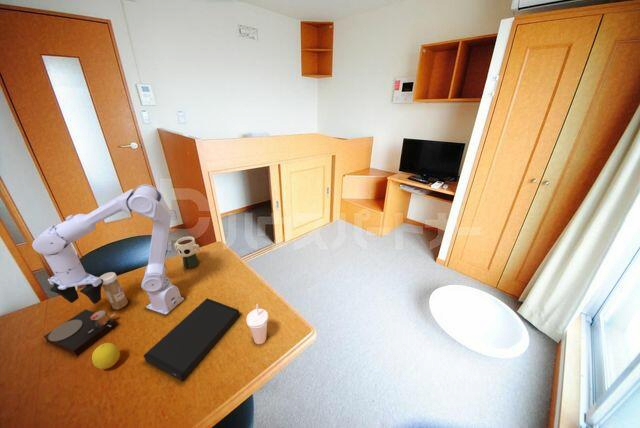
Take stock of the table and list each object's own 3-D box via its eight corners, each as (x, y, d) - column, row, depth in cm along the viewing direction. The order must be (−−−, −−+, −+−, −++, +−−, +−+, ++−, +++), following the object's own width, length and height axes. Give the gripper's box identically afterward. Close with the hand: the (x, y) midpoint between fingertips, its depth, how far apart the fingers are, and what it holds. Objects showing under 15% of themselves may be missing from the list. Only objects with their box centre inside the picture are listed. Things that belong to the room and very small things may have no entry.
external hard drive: (239, 316, 83) (238, 309, 81) (183, 382, 63) (180, 375, 62) (208, 304, 87) (206, 298, 86) (146, 362, 68) (142, 355, 66)
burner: (88, 324, 76) (88, 323, 76) (58, 344, 69) (58, 344, 69) (73, 317, 78) (72, 316, 78) (42, 337, 71) (42, 336, 71)
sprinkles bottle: (127, 306, 86) (114, 277, 80) (111, 312, 83) (96, 282, 78) (128, 298, 89) (115, 269, 83) (113, 303, 87) (98, 274, 81)
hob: (126, 322, 80) (123, 316, 78) (80, 357, 69) (76, 351, 67) (94, 310, 84) (91, 304, 83) (47, 341, 73) (43, 335, 72)
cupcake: (106, 316, 78) (101, 308, 77) (111, 321, 77) (107, 312, 75) (92, 324, 76) (87, 316, 74) (98, 329, 74) (93, 320, 72)
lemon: (103, 379, 63) (91, 360, 60) (95, 368, 66) (83, 349, 63) (127, 362, 68) (117, 343, 64) (118, 352, 70) (108, 333, 67)
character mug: (175, 269, 105) (167, 244, 99) (184, 259, 111) (178, 235, 106) (199, 270, 104) (193, 245, 99) (207, 260, 111) (201, 236, 105)
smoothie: (274, 333, 77) (271, 301, 71) (263, 351, 71) (259, 317, 65) (257, 327, 79) (252, 295, 73) (245, 344, 73) (239, 311, 67)
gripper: (28, 274, 67) (51, 309, 72) (77, 276, 66) (96, 312, 72) (54, 259, 73) (73, 293, 79) (100, 261, 72) (116, 295, 78)
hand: (86, 301), depth 76 cm, fingers open, 7 cm apart
